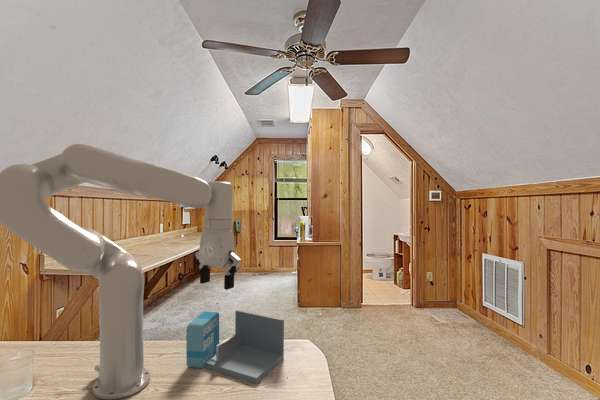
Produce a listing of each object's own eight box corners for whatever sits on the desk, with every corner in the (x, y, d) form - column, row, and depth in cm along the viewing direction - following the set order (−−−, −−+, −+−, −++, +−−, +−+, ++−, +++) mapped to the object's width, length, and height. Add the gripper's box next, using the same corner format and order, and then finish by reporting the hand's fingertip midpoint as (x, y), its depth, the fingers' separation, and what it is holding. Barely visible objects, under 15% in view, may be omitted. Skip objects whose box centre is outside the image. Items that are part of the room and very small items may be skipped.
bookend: (210, 360, 93) (210, 343, 93) (232, 345, 102) (232, 330, 102) (218, 362, 92) (218, 346, 92) (240, 347, 101) (240, 332, 101)
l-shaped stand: (205, 368, 92) (205, 326, 91) (236, 346, 104) (237, 309, 104) (256, 383, 84) (256, 338, 84) (283, 358, 97) (283, 319, 97)
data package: (201, 370, 90) (201, 326, 90) (186, 369, 91) (186, 325, 91) (219, 349, 102) (219, 310, 102) (205, 348, 103) (205, 309, 103)
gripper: (187, 223, 97) (185, 283, 97) (231, 228, 87) (229, 294, 88) (207, 222, 103) (205, 278, 103) (250, 226, 94) (248, 288, 94)
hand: (216, 285), depth 95 cm, fingers open, 9 cm apart
